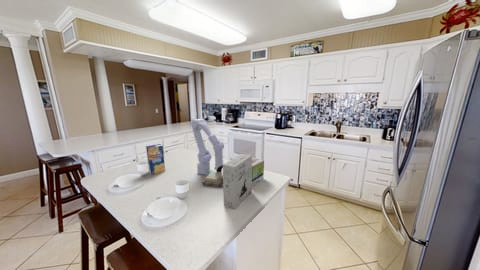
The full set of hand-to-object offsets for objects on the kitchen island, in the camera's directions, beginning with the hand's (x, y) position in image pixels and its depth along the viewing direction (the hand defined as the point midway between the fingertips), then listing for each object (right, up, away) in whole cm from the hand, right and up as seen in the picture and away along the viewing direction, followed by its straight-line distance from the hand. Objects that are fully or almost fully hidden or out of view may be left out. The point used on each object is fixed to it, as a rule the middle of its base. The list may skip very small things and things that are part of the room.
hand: (219, 174), depth 138 cm
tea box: (+26, -3, -6) cm, 27 cm away
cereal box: (+15, -8, -29) cm, 34 cm away
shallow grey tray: (-2, -3, -8) cm, 9 cm away
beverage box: (-53, +1, +10) cm, 54 cm away
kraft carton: (-3, -3, -7) cm, 8 cm away
